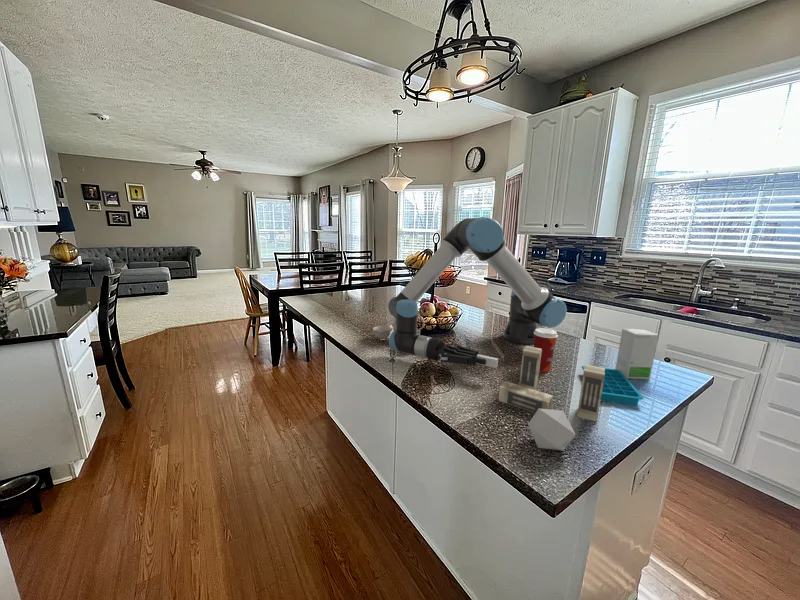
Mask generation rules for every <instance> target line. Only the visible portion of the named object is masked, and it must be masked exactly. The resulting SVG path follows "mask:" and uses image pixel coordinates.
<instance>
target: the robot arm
mask: <svg viewBox="0 0 800 600" xmlns="http://www.w3.org/2000/svg"><path fill="white" fill-rule="evenodd" d="M506 243H507V239H506V237H504V229H503V227H502V225H501V224H500V223H499V222H498V221H497V220H496V219H493V218H489V217H485V216H481V217H473V218H472V217H469V218H464V219H462V220H461V221H458V223H457V224H455V225H454V227H452V229H450V231H449V232H448V233H447V235H445V236H444V238H443V239H442V240H441V245H440V247H438V249H437V250H436V251H435V252H434V253H433V254H432V255H431V257H430V258H429V259H428V260H427V261H426V263H425V264H424V265H423V266H422V267H421V268H420V269H419V270H418V271H417V273H416V274H415V275H414V276H413V277H412V278H411V280H409V282H408V283H407V284H406V286H404V288H403V289H402V290H401V291H400V292H399V293H398V295H396V296H393V297H392V298H390V299H389V301H388V303H387V309H388V311H389V313H390V314H391V315H392V316H393V318H394V319H396V330H395V331H394V330H392V331H391V332H390V335H389V339H388V346H389V348H390V349H391V350H392V351H396V352H399V353H401V354H407V355H412V356H414V357H415V356H416V357H420V358H421V359H428V360H432V361H435V362H438V361H440V363H452V364H458V365H465V366H473V367H476V365H482V366H484V367H489V368H493V369H497V368H498V365H499V358H497V357H492V356H488V355H484V354H483V355H482V354H479V353H480V351H478V350H474V349H471V348H469V347H465V346H463V345H460V344H458V343H455V344H454V345H451V344H445V343H444V340H443V339H440V338H436V337H435V338H434V337H430V336H426V335H421V334H420V335H417V329H418V316H417V315H418V312H419V310H418V303H417V302H418V301H419V300H420V299H421V298H422V297H423V296H424V294H425V293H426V292H427V291H428V290H429V289H430V288H431V286H432V285H433V284H435V282H436V281H437V280H438V279H439V277H440V276H441V275H442V274H443V273H444V272H445V271H446V269H447V268H448V267H449V266H450V265H451V264H452V263H453V262H454V261H455V259H456V258H460V257H461V256H462V255H463V254H464V253H465V252H467V251H468V250H469V251H471V252H472V253H473V254H474V256H476V257H477V259H478V260H479V261H481V262H486V263H488V265H489V266H490V267H491V268H492V269H493V270H494V271H495V273H496V274H497V275H498V276H499V277H500V279H502V281H503V282H504V283H505V284H506V285H507V286H508V287H509V288H510V290H511V293H510V305H509V315H508V322H507V324H506V326H505V328H504V330H503V334H502V335H503V336H502V337H503V338H504V339H505V340H507V341H508V342H512V343H516V344H520V345H521V344H522V345H534V332H535V329H537V328H539V327H538V325H540V326H541V327H542V328H547V329H552V328H556V327H558V326H559V325H561V324H562V322H563V321H564V320H565V318H566V316H567V312H568V310H567V309H568V308H567V305H566V302H564V301H563V300H561V299H560V298H556V297H554V295H553V294H552V293H551V291H549V289H548V288H546V287H545V286H540V285H539V284H538V283H537V282H536V280H535V279H534V278H533V277H532V276H531V274H530V273H529V272H528V271H527V270H526V268H525V267H524V266H523V265H522V264H521V263H520V262H519V260H518V259H517V258H516V257H515V255H514V254H513V253H512V252H511V251H510V249H509V248H507V246H506Z"/></svg>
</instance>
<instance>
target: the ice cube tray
mask: <svg viewBox="0 0 800 600" xmlns="http://www.w3.org/2000/svg"><path fill="white" fill-rule="evenodd" d="M584 367H585V365H582V366H581V369H582V370H583V372H584ZM604 368H605V367H604ZM640 400H644V396H643V395H642V393H641V392H640V391H639V390H638V389H637V388H636V387H635V386H634V384H632V382H631V381H630V379H629V378H626V377H625V375H624V374H623V373H622V372H621V371H619V370H616V369H615V368H605V377H604V383H603V389H602V395H601V401H603V402H610V403H615V404H616V403H617V404H622V403H624V404H623V405H629V404H632V405H631V406H638V404H639V401H640Z"/></svg>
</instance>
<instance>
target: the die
mask: <svg viewBox="0 0 800 600" xmlns="http://www.w3.org/2000/svg"><path fill="white" fill-rule="evenodd" d="M527 425H528V427H529V430H530V433H531V434H532V437H533V440H534V442H535V444H536V446H537V448H538V449H546V450H553V451H561V452H562V451H564V450H566V448H567V446H568V445H569V444H570V442H571V441H572V440H573V439H574V437H575V436H576V432H575V430H574V429H573V427H572V425H571V423H570V421H569V419H568V417H567V415H566V413H565V412H564V410H558V409H551V410H550V409H538V410H537V412H536V413H534V415H533V416H532V418H531V419H530V421H529V422H528V424H527Z"/></svg>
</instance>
